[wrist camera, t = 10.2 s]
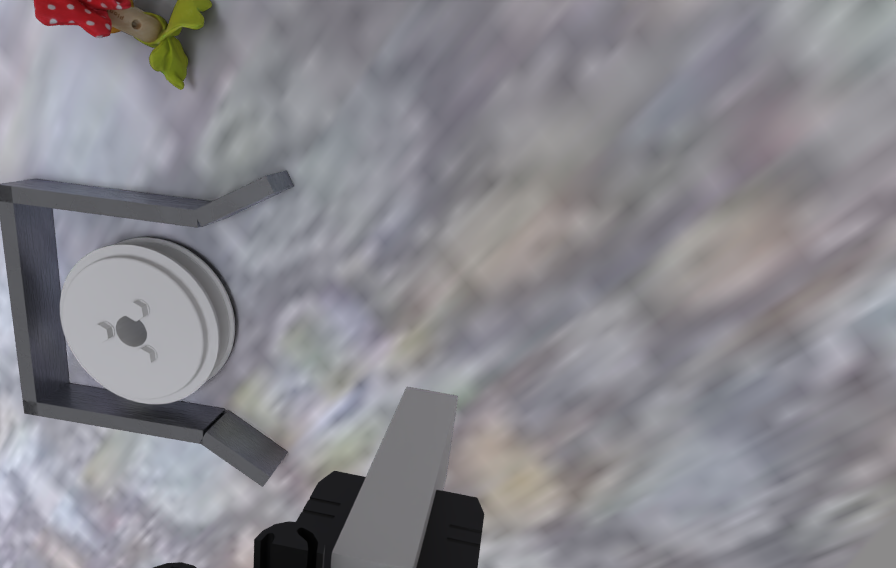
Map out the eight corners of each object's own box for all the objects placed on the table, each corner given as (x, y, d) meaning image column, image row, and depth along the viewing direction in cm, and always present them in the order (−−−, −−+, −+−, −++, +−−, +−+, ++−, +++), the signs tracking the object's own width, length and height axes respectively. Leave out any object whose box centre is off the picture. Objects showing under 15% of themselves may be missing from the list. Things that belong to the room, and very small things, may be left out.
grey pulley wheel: (230, 235, 45) (194, 250, 40) (249, 387, 49) (218, 417, 44) (79, 233, 47) (27, 248, 42) (108, 380, 50) (63, 409, 46)
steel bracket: (31, 139, 45) (-10, 142, 41) (294, 171, 43) (274, 177, 39) (60, 423, 52) (28, 444, 49) (287, 462, 50) (270, 488, 46)
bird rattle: (138, 61, 44) (215, 103, 40) (-43, 17, 34) (37, 66, 31) (157, -26, 42) (239, 10, 39) (-29, -99, 33) (58, -61, 29)
